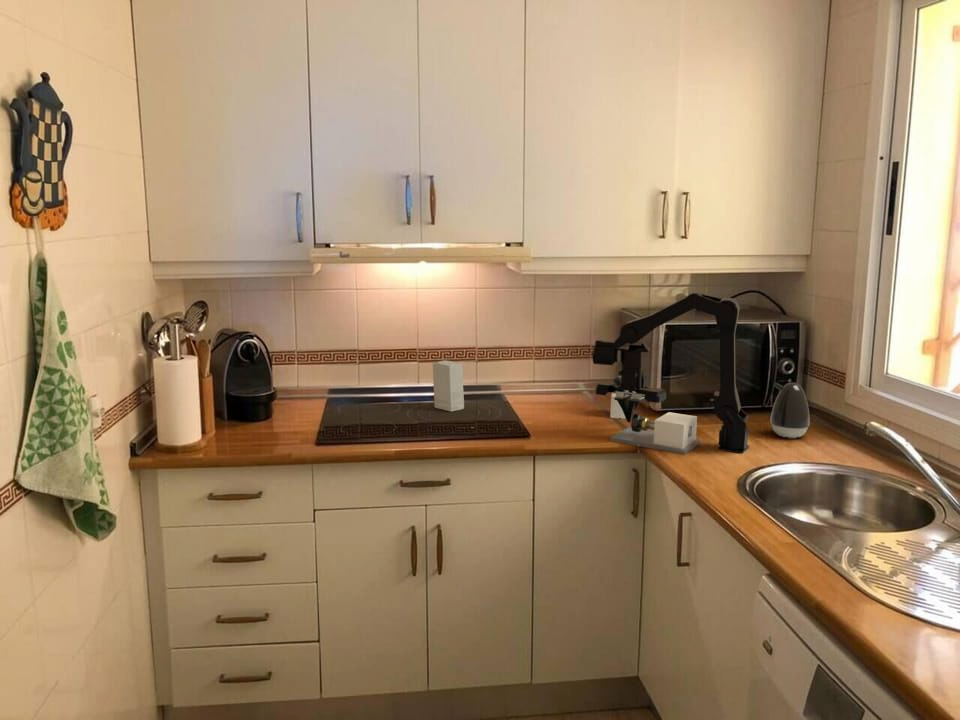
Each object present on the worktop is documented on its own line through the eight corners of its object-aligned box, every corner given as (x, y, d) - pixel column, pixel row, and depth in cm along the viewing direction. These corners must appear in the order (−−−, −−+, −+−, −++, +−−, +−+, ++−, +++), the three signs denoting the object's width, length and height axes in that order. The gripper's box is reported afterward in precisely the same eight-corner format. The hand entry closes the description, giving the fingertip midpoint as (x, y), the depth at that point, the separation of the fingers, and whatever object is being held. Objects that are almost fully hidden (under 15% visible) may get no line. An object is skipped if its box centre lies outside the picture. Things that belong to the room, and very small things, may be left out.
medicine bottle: (634, 419, 240) (635, 380, 238) (610, 418, 242) (611, 379, 240) (634, 413, 247) (636, 375, 245) (611, 412, 249) (612, 374, 246)
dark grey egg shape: (778, 428, 232) (782, 377, 229) (814, 435, 224) (819, 382, 222) (762, 435, 225) (766, 382, 222) (798, 443, 217) (803, 388, 215)
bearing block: (700, 443, 217) (701, 416, 216) (684, 454, 208) (686, 426, 206) (628, 430, 229) (629, 405, 227) (610, 440, 219) (611, 414, 218)
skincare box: (464, 409, 252) (464, 362, 249) (450, 412, 248) (450, 365, 245) (446, 404, 258) (446, 359, 255) (432, 407, 254) (432, 361, 251)
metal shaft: (692, 438, 215) (693, 420, 214) (685, 442, 211) (686, 424, 210) (638, 429, 223) (638, 411, 222) (630, 433, 219) (631, 415, 218)
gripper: (674, 365, 220) (672, 420, 223) (612, 358, 230) (610, 411, 233) (659, 372, 211) (657, 429, 214) (595, 364, 221) (593, 419, 224)
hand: (629, 422), depth 222 cm, fingers closed
